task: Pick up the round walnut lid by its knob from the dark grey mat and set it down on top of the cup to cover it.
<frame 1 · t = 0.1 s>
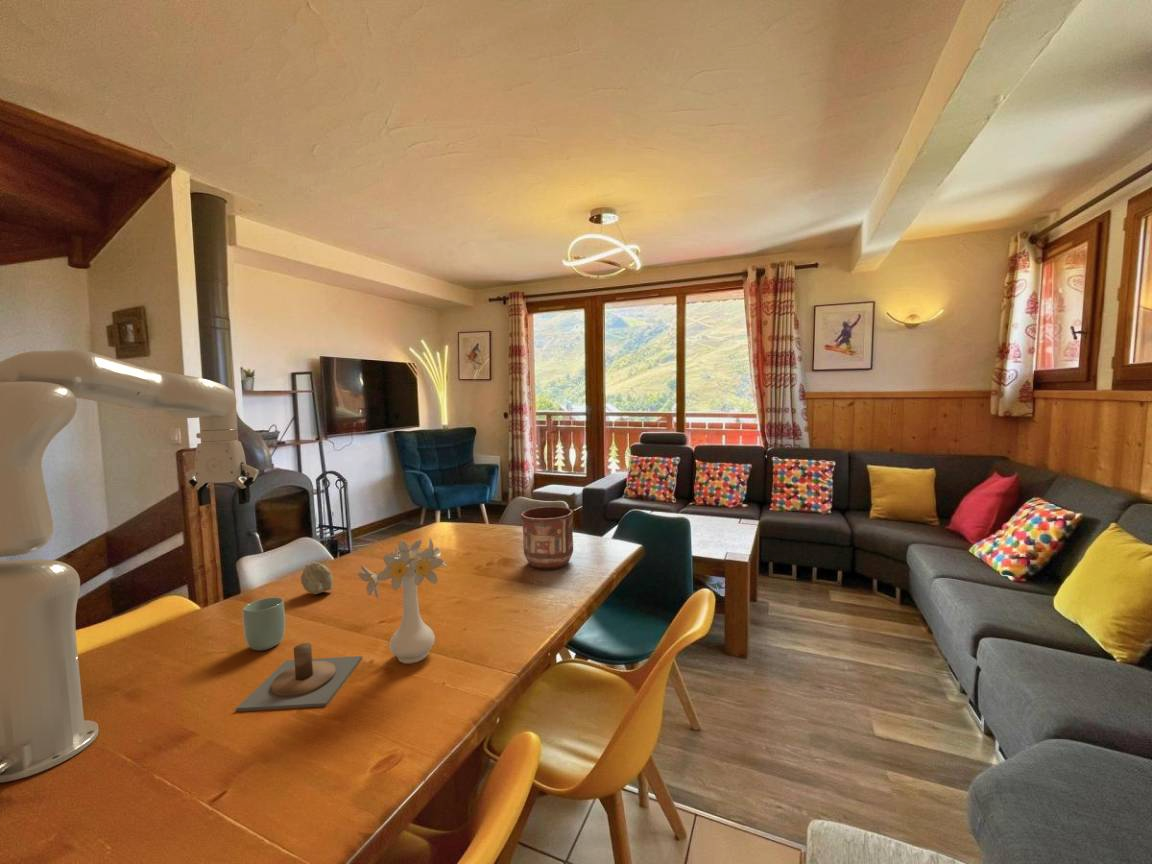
hand: (224, 504, 118), 31 cm above the table, tool pointing down, fingers open, 9 cm apart
flower vase: (412, 659, 101), on the table
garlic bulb: (318, 595, 138), on the table
lid: (304, 679, 93), point 1 cm above the table, touching mat
pottery: (548, 564, 158), on the table
cup: (266, 646, 108), on the table
mat: (304, 682, 93), on the table
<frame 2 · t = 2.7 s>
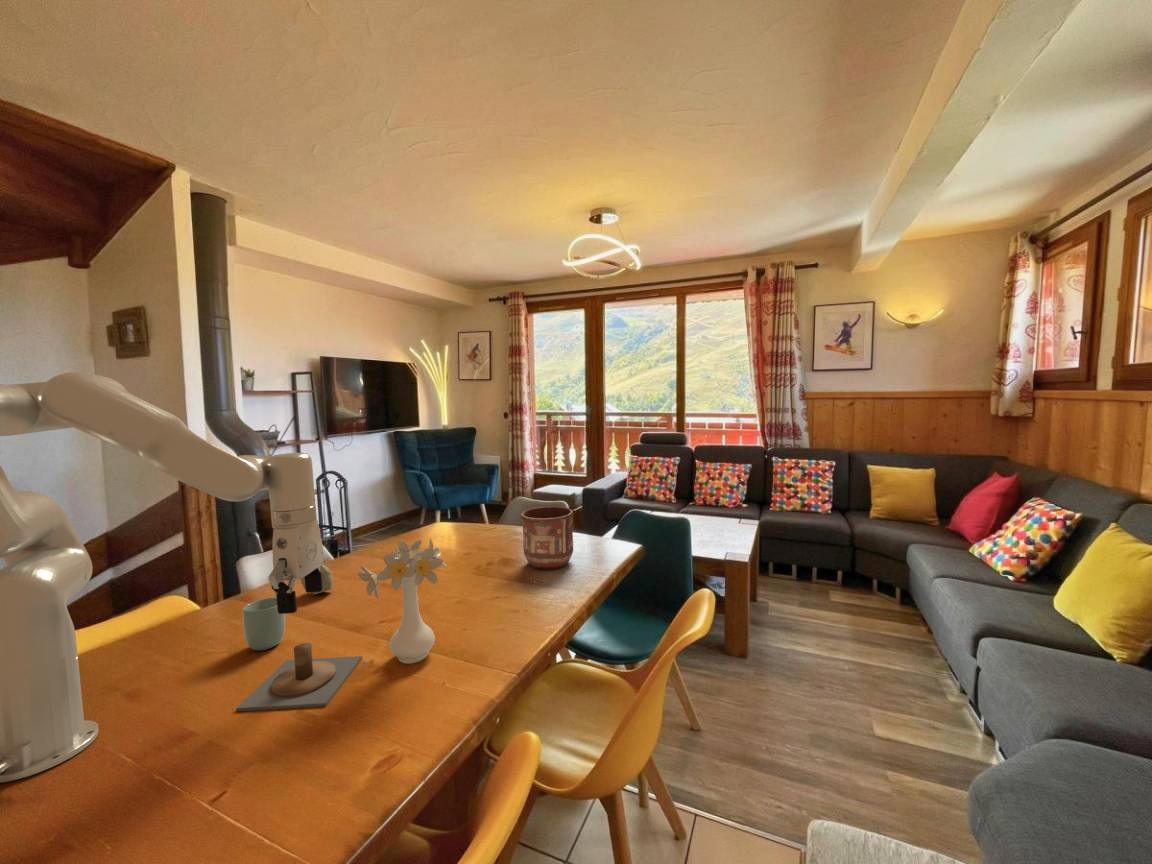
hand: (301, 601, 92), 16 cm above the table, tool pointing down, fingers open, 9 cm apart
nothing on the table moved.
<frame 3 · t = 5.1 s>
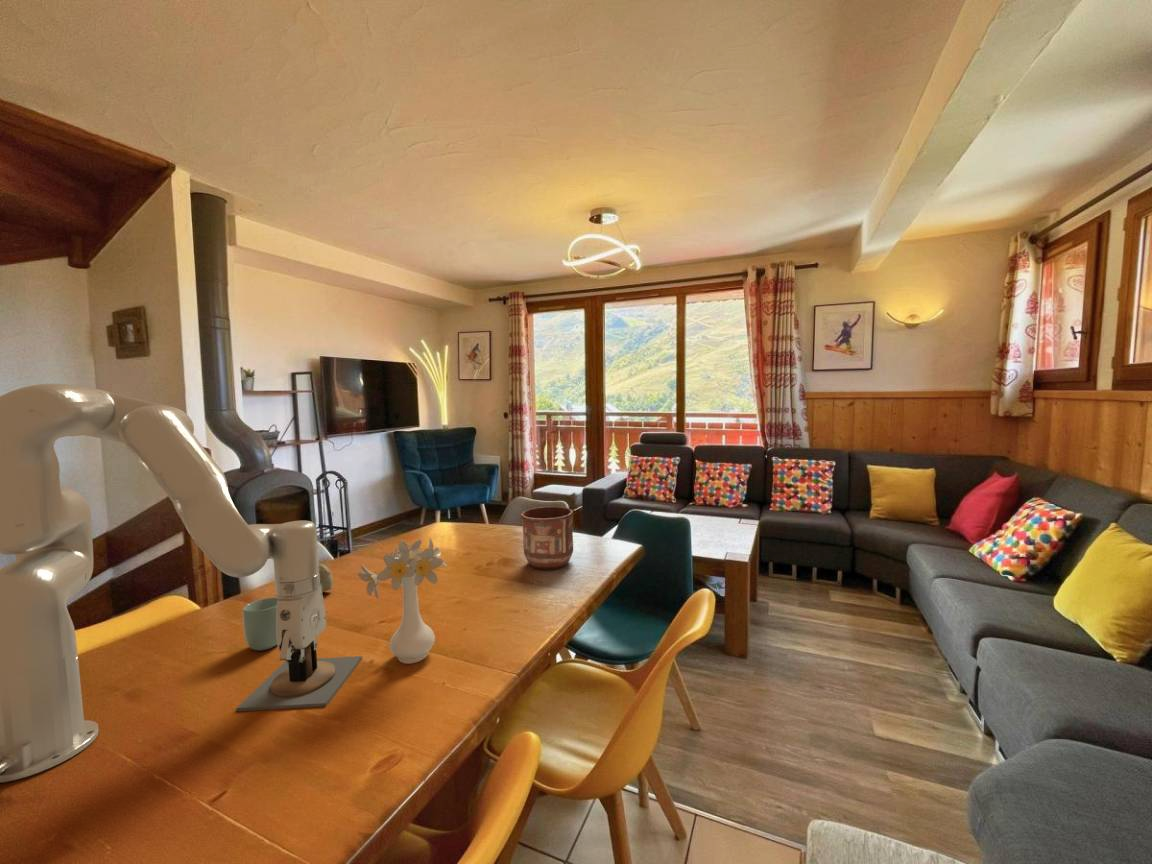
hand: (303, 674, 93), 2 cm above the table, tool pointing down, fingers closed on lid, 3 cm apart
lid: (304, 679, 93), point 1 cm above the table, touching gripper
everything else where it was.
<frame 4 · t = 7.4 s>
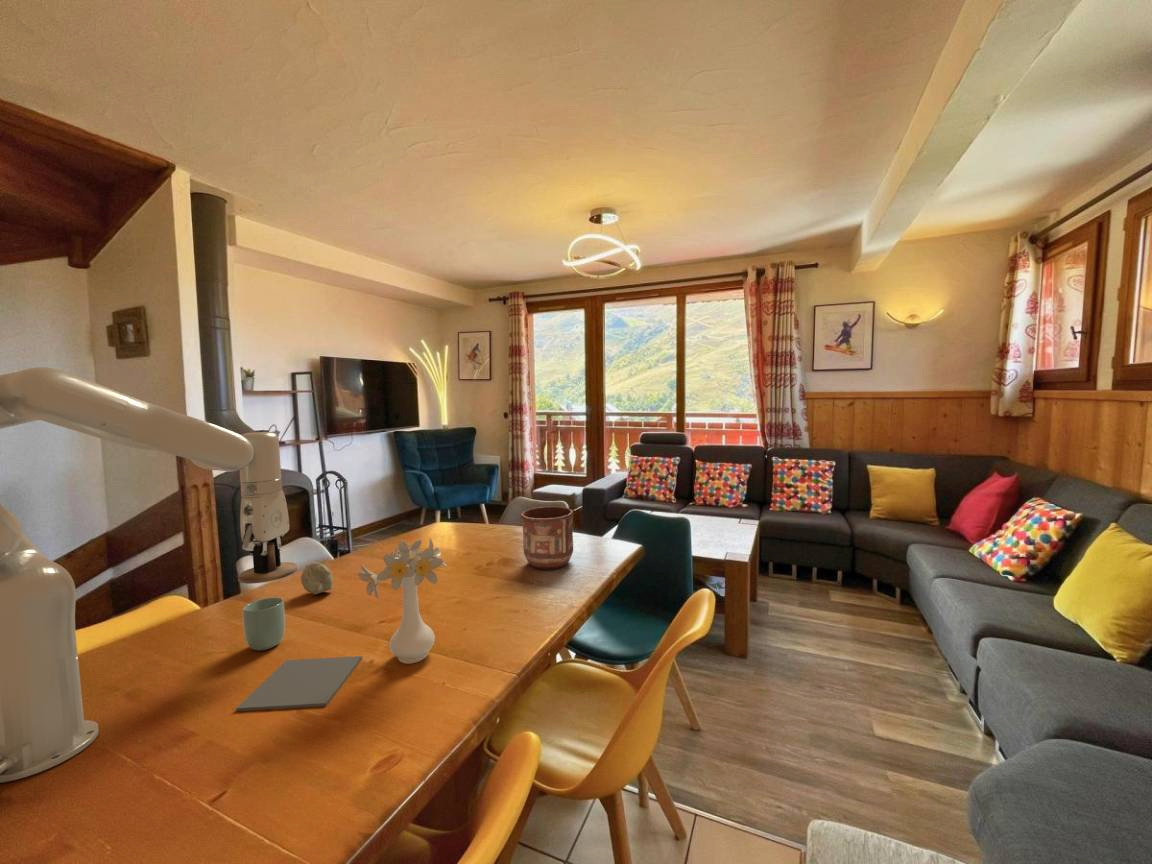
hand: (267, 568, 104), 19 cm above the table, tool pointing down, fingers closed on lid, 3 cm apart
lid: (268, 574, 104), point 18 cm above the table, touching gripper
everything else where it was.
when the fingers open (13 cm above the table, at t = 9.6 s): lid drops 1 cm, resting on cup.
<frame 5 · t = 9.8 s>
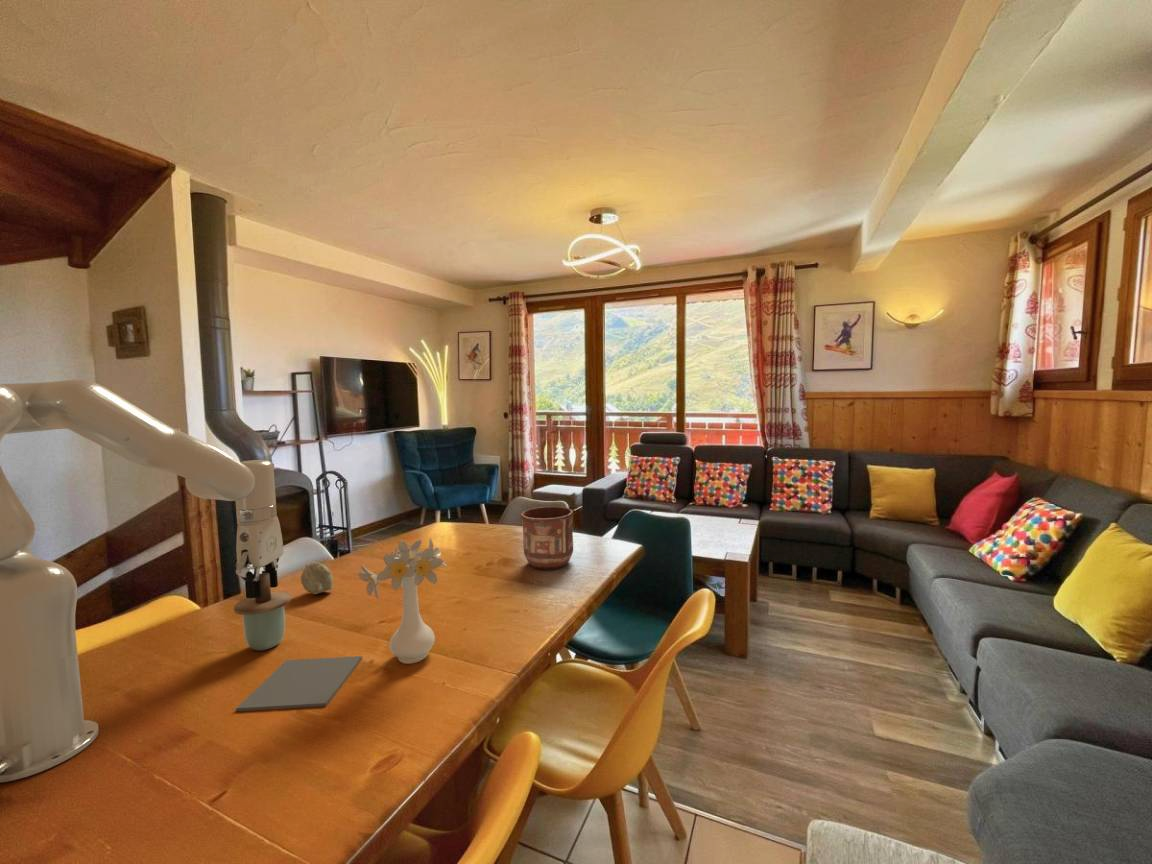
hand: (262, 591, 107), 13 cm above the table, tool pointing down, fingers open, 5 cm apart
lid: (263, 604, 107), point 10 cm above the table, touching cup
cup: (266, 646, 108), on the table, touching lid
everything else where it was.
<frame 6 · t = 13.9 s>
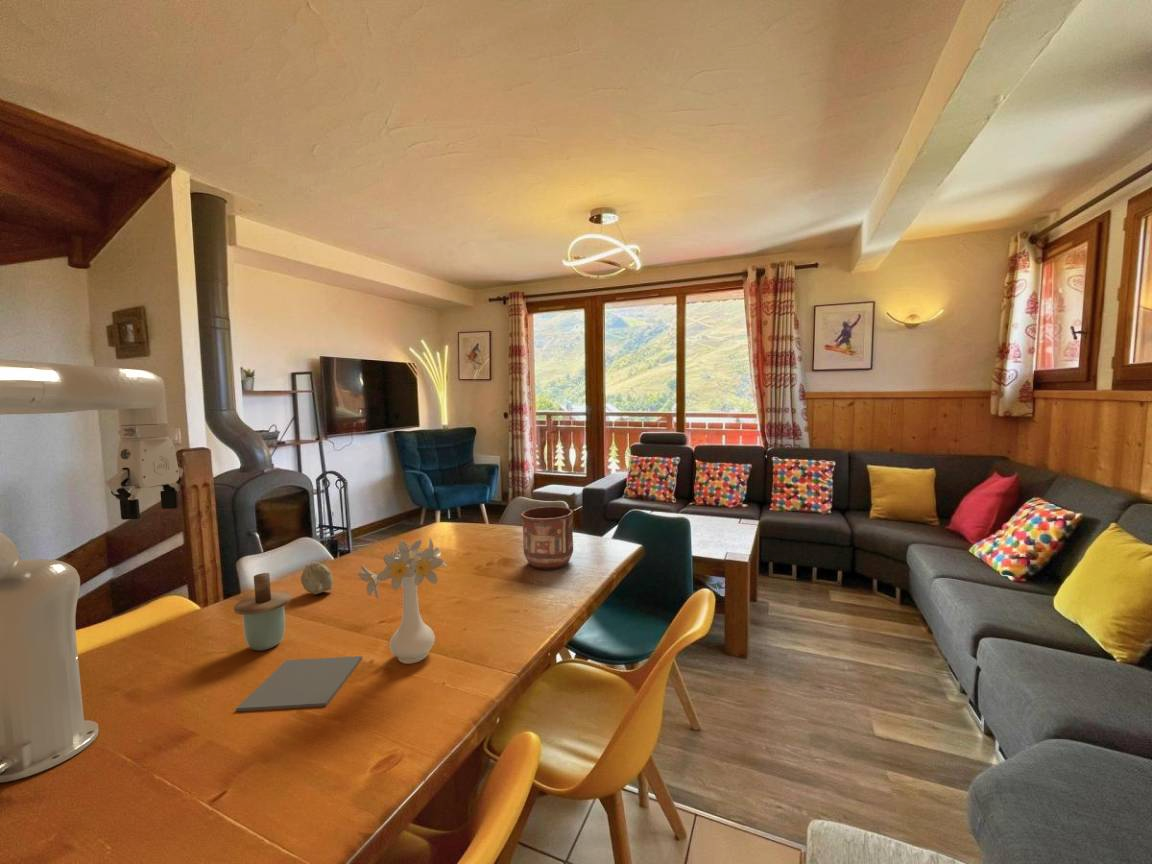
hand: (151, 513, 99), 33 cm above the table, tool pointing down, fingers open, 9 cm apart
nothing on the table moved.
at the end: lid 0.1 cm off-centre on the cup, point 10.2 cm above the cup's base; lid tilted 0°; the gripper is holding nothing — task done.
